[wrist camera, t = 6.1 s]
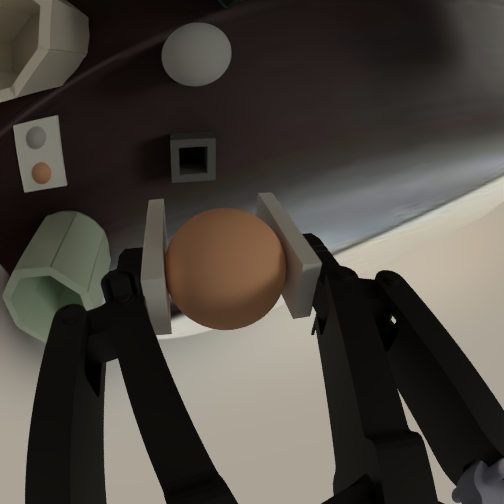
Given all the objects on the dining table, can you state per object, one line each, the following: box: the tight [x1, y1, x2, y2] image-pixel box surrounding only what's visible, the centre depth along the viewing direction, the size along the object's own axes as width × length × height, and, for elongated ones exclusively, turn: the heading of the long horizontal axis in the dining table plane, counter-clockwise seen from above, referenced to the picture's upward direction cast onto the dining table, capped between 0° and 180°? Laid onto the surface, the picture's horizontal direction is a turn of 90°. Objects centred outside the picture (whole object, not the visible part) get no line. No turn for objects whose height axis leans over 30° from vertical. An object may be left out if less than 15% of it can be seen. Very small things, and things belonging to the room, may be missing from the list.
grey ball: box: [162, 23, 231, 86], centre depth 19 cm, size 5×5×5 cm
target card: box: [13, 115, 67, 193], centre depth 24 cm, size 7×5×1 cm
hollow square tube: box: [170, 131, 216, 183], centre depth 27 cm, size 4×4×3 cm
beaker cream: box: [0, 0, 90, 103], centre depth 15 cm, size 9×9×10 cm
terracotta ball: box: [165, 208, 286, 330], centre depth 13 cm, size 5×5×5 cm
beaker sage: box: [2, 210, 111, 343], centre depth 26 cm, size 9×9×10 cm
